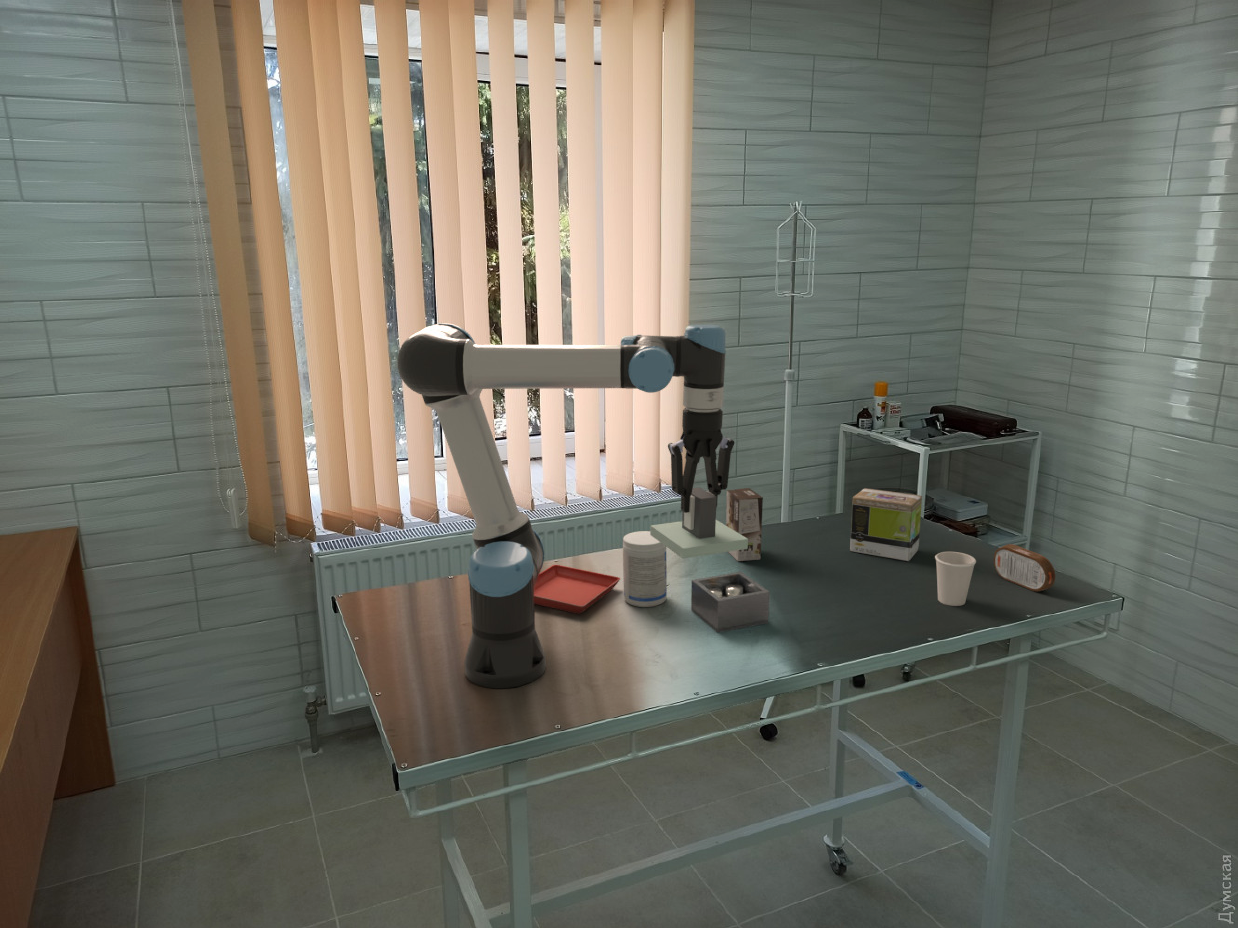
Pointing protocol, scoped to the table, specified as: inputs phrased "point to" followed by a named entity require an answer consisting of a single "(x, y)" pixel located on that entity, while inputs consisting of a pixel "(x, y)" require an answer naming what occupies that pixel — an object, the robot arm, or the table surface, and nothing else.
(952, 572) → the dixie cup
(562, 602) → the plant saucer
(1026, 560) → the tin
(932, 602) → the table surface
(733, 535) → the lid
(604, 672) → the table surface
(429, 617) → the table surface
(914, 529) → the tea box
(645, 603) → the supplement tub
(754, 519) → the coffee box
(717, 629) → the instrument box
